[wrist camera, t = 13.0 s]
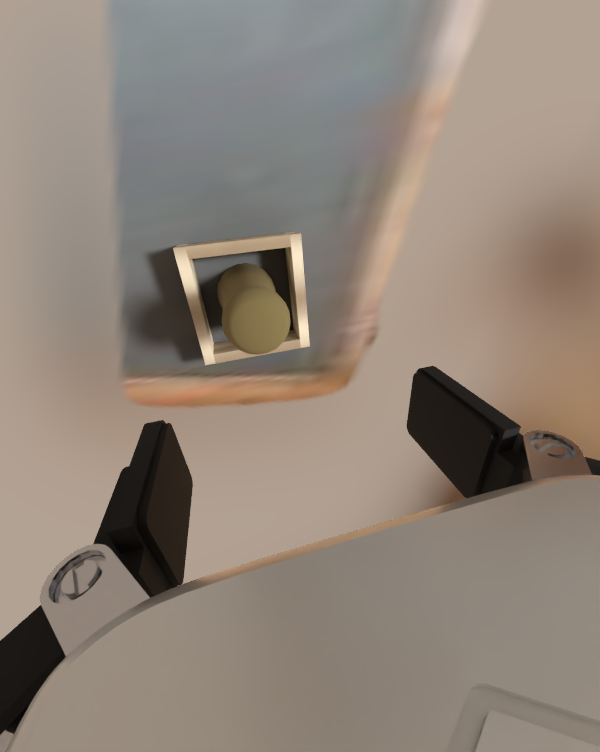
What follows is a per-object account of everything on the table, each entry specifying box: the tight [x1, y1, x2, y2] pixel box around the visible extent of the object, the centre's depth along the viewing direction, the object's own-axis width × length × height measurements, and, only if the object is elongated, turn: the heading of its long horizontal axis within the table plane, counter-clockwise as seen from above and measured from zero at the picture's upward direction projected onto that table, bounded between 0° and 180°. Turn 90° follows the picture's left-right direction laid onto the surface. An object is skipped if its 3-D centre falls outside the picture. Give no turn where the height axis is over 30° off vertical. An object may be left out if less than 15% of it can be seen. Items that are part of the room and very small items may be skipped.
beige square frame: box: [173, 232, 310, 365], centre depth 29 cm, size 11×11×3 cm
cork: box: [217, 263, 291, 355], centre depth 26 cm, size 6×6×11 cm
